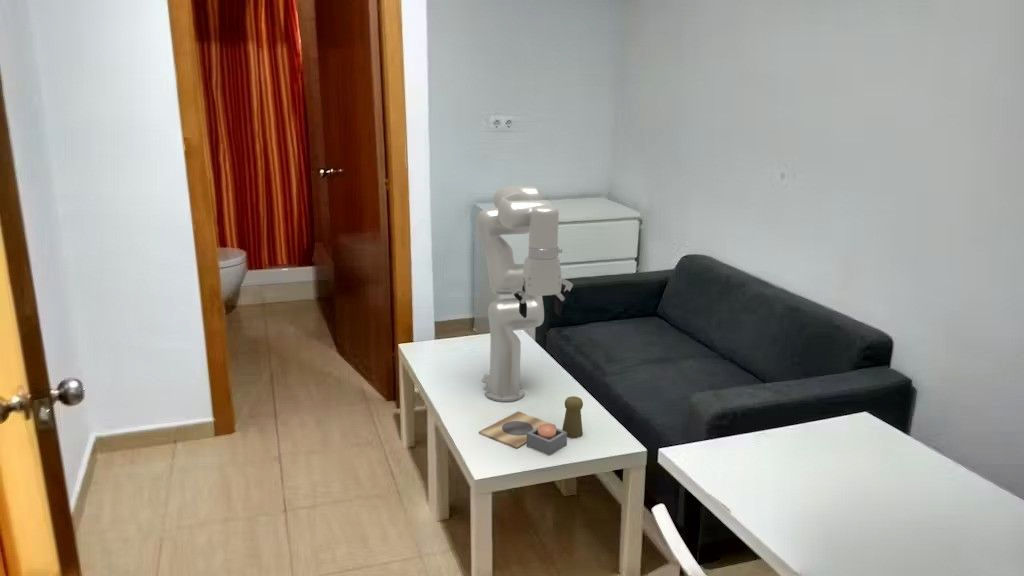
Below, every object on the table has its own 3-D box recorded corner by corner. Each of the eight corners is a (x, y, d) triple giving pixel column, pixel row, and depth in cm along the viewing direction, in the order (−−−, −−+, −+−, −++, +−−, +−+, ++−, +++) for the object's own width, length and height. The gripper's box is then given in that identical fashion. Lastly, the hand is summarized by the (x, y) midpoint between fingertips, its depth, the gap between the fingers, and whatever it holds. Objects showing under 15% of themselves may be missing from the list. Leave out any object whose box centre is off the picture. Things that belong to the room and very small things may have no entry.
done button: (534, 437, 217) (534, 428, 216) (545, 431, 220) (545, 422, 220) (548, 443, 214) (549, 433, 213) (559, 437, 217) (559, 427, 217)
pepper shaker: (581, 439, 222) (583, 403, 219) (560, 436, 223) (561, 401, 220) (583, 429, 228) (585, 395, 225) (563, 427, 229) (564, 392, 226)
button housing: (526, 446, 217) (526, 433, 216) (543, 436, 223) (544, 423, 222) (549, 455, 212) (550, 442, 211) (566, 445, 218) (567, 432, 217)
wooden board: (478, 433, 224) (478, 431, 224) (518, 413, 237) (518, 410, 237) (516, 449, 216) (516, 446, 215) (555, 427, 229) (555, 424, 229)
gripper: (568, 248, 211) (566, 308, 216) (507, 251, 206) (505, 312, 211) (578, 254, 204) (575, 317, 209) (515, 258, 199) (513, 321, 204)
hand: (540, 314), depth 210 cm, fingers open, 9 cm apart
